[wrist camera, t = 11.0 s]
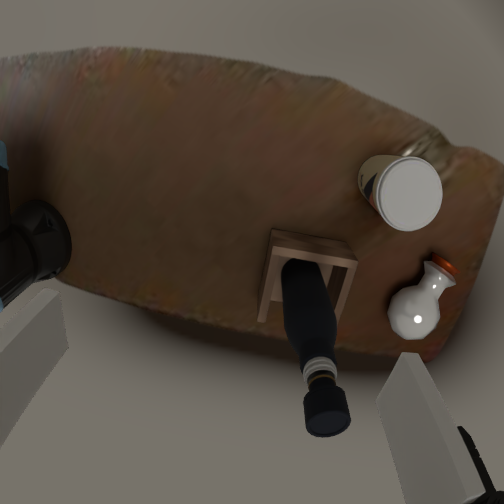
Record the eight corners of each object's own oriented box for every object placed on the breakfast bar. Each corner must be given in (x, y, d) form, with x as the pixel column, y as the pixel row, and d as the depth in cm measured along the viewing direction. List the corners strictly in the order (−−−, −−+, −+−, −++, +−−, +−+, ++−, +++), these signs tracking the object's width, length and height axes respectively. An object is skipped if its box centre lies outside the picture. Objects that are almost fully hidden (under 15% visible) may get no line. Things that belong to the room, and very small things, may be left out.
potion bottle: (379, 316, 56) (423, 248, 53) (418, 345, 52) (464, 277, 49) (372, 323, 48) (423, 244, 45) (418, 357, 44) (472, 278, 41)
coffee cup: (341, 168, 46) (364, 181, 35) (390, 138, 44) (426, 143, 32) (369, 219, 48) (397, 246, 37) (416, 190, 46) (453, 209, 35)
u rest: (258, 296, 54) (256, 321, 47) (271, 228, 50) (273, 245, 42) (326, 306, 54) (334, 332, 47) (346, 242, 50) (358, 261, 43)
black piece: (328, 274, 51) (379, 420, 23) (298, 299, 53) (321, 453, 25) (302, 247, 50) (337, 389, 22) (272, 274, 52) (274, 426, 24)
